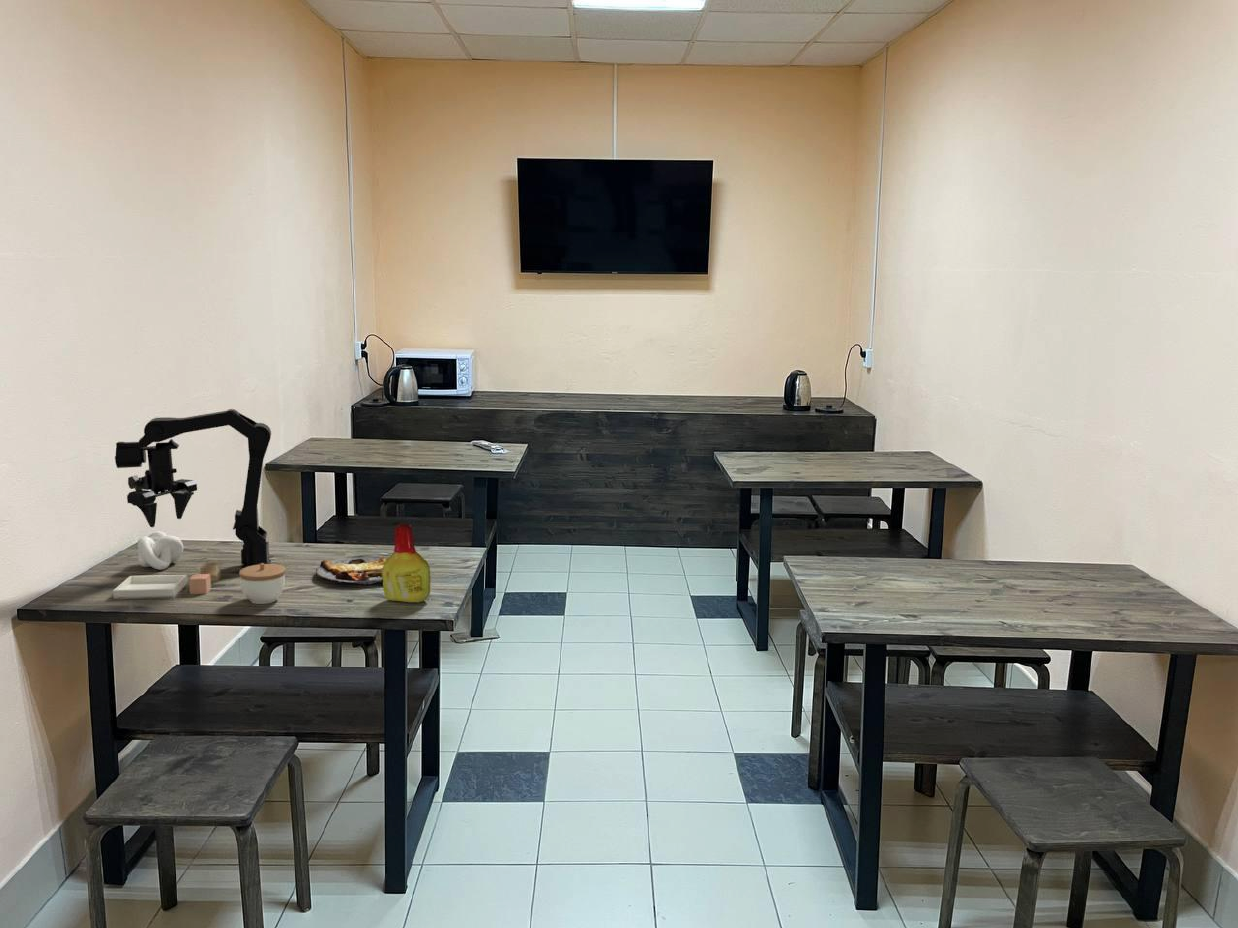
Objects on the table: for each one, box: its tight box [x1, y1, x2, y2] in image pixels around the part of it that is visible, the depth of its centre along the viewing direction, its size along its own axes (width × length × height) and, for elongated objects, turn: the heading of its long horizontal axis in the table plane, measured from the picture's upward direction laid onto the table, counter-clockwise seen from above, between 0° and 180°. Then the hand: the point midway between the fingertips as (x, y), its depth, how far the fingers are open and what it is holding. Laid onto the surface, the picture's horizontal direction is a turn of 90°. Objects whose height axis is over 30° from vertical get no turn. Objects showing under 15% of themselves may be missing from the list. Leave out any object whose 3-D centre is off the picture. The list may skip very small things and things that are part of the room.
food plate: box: [315, 554, 390, 586], centre depth 262 cm, size 25×23×4 cm
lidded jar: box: [238, 563, 286, 605], centre depth 239 cm, size 11×11×9 cm
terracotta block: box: [188, 573, 212, 595], centre depth 244 cm, size 4×4×4 cm
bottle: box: [381, 523, 431, 603], centre depth 240 cm, size 12×6×20 cm, turn 83°
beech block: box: [199, 562, 222, 583], centre depth 254 cm, size 4×4×4 cm
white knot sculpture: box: [137, 530, 184, 571], centre depth 263 cm, size 11×12×9 cm
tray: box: [112, 574, 189, 600], centre depth 244 cm, size 14×12×2 cm
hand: (165, 522), depth 258 cm, fingers open, 9 cm apart
